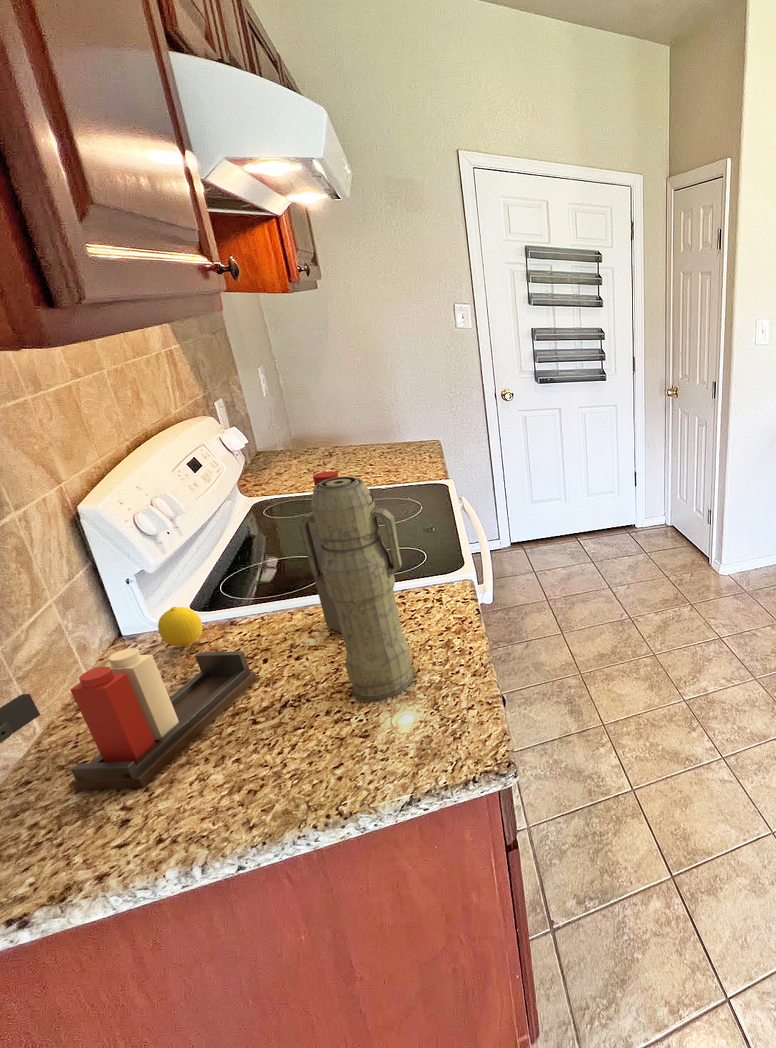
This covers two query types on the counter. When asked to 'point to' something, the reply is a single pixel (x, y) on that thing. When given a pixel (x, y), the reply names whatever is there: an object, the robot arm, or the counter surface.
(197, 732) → the rail
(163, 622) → the lemon
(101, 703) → the marker red
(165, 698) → the marker cream
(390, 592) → the thermos
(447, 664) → the counter surface
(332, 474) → the liquor
